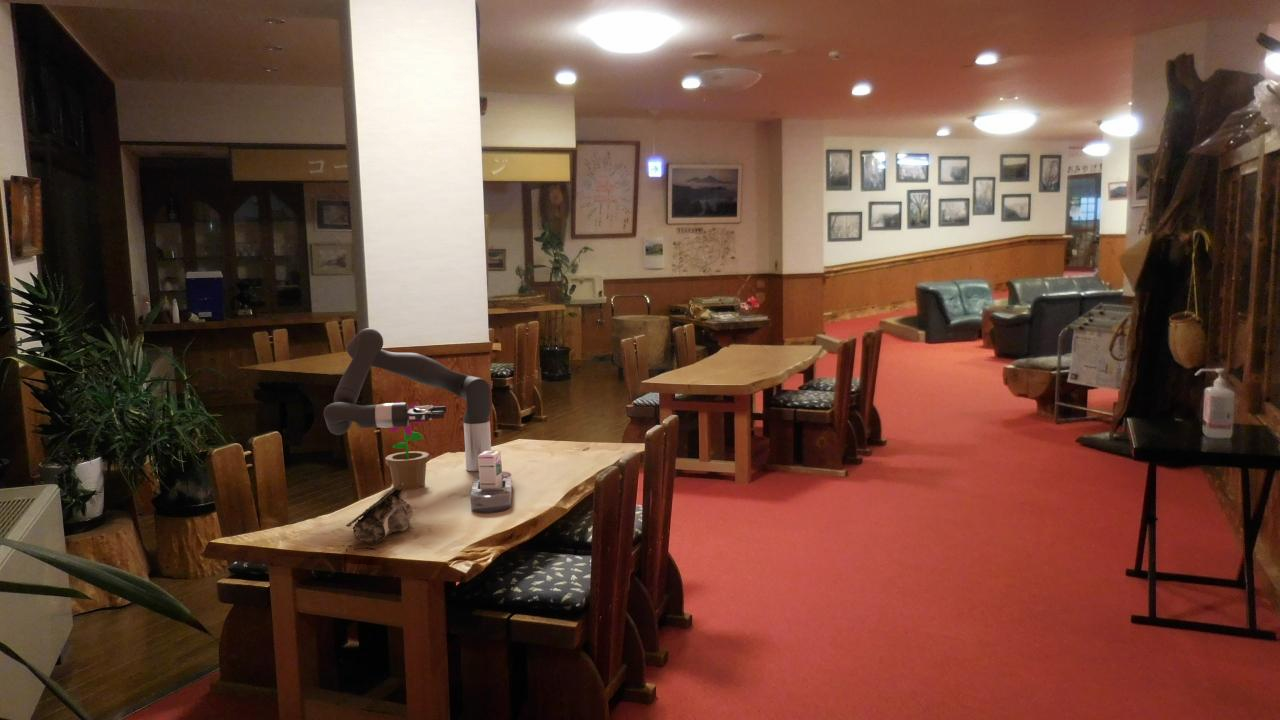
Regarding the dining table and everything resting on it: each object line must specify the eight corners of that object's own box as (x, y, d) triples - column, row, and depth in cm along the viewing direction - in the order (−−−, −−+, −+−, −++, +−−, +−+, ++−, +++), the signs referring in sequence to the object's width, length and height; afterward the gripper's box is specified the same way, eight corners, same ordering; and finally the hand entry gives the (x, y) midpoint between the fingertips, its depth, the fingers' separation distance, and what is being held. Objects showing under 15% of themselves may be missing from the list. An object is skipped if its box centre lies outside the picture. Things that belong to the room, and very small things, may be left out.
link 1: (511, 500, 281) (510, 488, 281) (472, 503, 280) (471, 490, 279) (512, 481, 305) (511, 470, 304) (476, 484, 303) (475, 472, 303)
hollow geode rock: (365, 568, 238) (399, 529, 235) (329, 536, 238) (363, 496, 235) (406, 532, 265) (438, 497, 262) (374, 503, 265) (405, 467, 262)
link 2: (474, 493, 292) (473, 481, 291) (511, 490, 293) (511, 478, 293) (469, 514, 268) (469, 501, 267) (510, 511, 269) (510, 498, 269)
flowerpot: (385, 493, 296) (379, 402, 292) (388, 482, 310) (382, 395, 306) (430, 489, 299) (425, 399, 295) (431, 478, 313) (426, 393, 309)
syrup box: (497, 499, 283) (495, 454, 281) (479, 499, 284) (477, 454, 282) (503, 495, 289) (501, 450, 287) (486, 494, 290) (483, 450, 288)
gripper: (387, 407, 272) (442, 403, 274) (394, 399, 286) (446, 396, 288) (389, 431, 273) (444, 428, 275) (396, 422, 287) (447, 419, 289)
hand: (445, 412), depth 282 cm, fingers open, 8 cm apart
